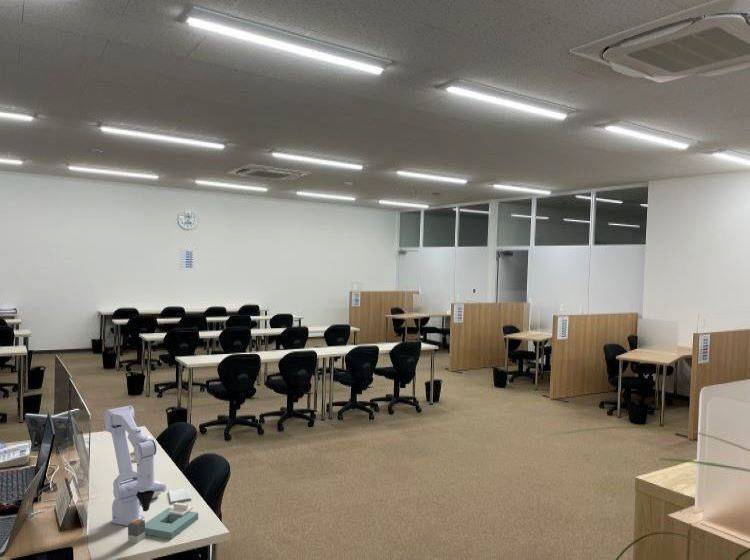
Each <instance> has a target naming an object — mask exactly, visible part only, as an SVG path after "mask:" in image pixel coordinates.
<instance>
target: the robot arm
mask: <svg viewBox="0 0 750 560" xmlns="http://www.w3.org/2000/svg"><path fill="white" fill-rule="evenodd" d="M103 419H104V424H105V425H104V426H105V429H106V432H108V433H110V434H111V437H112V441H113V448H114V453H115V457H116V463H117V469H118V473H119V474H118V476H117V477H116V478H115V479H114V481H113V483H112V485H113V486H112V487H113V497H114V499H113V501H112V505H111V517H112V520H110V523H111V524H115V525H116V524H117V525H121V526H127V527H128V524H129V523H130V522H132V521H133V520H135V519H139V520H143V518H144V519H145V515H143V514H142V515H141V514H140V505H141V508H142V512H148V511H149V510H150V505H151V502H152V499H153V498H152V496H153V494H154V492H155V491H162V492H161V493H165V492H166V491H167V484H164V483H163V484H162V483H161V484H157V483H154V480H155V466H154V463H155V461H154V460H155V459H154V457H155V455H157V449H158V448H157V443H156V441H155V439H153V438H150V439H148V437H147V436H148V435H147V434H146V433H145V431H144V430H143V429H142V428H141V427H138V425H137V424H136V422H135V409H134V406H132V405H126V406H121V407H116V408H110V409H108V408H107V409H106V410H105V411H104V416H103ZM126 433H127V434H128V435H127V434H126ZM127 439H128V440H127ZM128 441H129V442H130V444H131V446H132V447H133V455H134V461H135V463H136V471H135V470H133V465H132V464H133V463H132V460H131V454H130V450H129V445H128V444H129V443H128Z"/></svg>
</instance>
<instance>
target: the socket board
mask: <svg viewBox="0 0 750 560" xmlns="http://www.w3.org/2000/svg"><path fill="white" fill-rule="evenodd" d="M172 509H173V508H171V507H167V508H166V509H164V510H163V511H161V512H160V513H158V514H157V515H155V516H154V517H152V518H151V519H150V520H147V522H146V521H145V536H146V535H147V536H153V537H157V538H163V539H169V540H173V539H174V538H176V537H177V536H178V535H179V534H181V533H182V532H184V531H185V530H186V529H187V528H189V527H190V526H192V524H194V523H195V522H196V521H198V520H199V512H196V511H192V510H190V511H189V512H187V513H186V514H185V515H183V516H181V515H175V514H169V511H170V510H172ZM169 522H170V523H169Z"/></svg>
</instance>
